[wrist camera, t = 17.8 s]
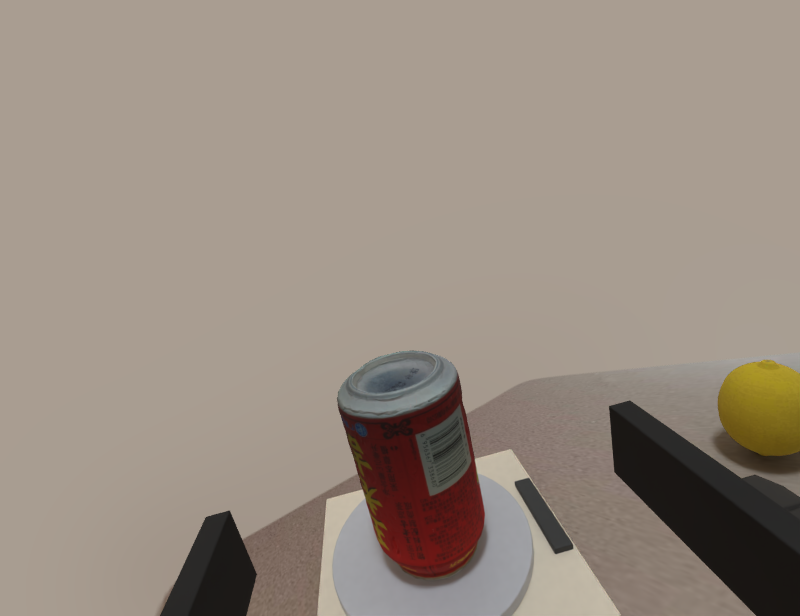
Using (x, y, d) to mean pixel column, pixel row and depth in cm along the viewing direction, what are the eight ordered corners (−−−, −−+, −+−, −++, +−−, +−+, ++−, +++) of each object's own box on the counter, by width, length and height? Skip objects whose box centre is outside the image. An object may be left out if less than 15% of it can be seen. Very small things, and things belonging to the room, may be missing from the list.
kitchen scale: (515, 472, 34) (510, 440, 33) (624, 649, 20) (620, 603, 19) (334, 522, 33) (323, 491, 32) (322, 743, 19) (304, 699, 18)
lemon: (824, 450, 29) (834, 354, 27) (803, 492, 26) (813, 388, 24) (731, 424, 34) (733, 339, 32) (705, 457, 31) (705, 367, 29)
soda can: (508, 517, 26) (478, 347, 22) (453, 616, 20) (403, 415, 17) (422, 485, 30) (386, 340, 27) (359, 559, 25) (305, 391, 22)
